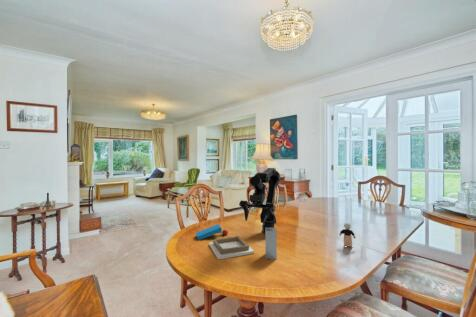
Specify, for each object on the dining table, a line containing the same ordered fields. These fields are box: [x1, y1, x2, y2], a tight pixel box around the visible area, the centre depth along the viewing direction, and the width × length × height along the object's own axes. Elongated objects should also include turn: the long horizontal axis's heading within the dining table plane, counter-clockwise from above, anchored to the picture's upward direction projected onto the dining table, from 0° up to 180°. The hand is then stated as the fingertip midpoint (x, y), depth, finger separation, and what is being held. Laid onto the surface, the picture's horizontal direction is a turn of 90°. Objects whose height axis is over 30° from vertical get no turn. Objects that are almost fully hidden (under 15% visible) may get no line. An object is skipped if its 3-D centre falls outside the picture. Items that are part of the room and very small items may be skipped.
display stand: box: [208, 235, 255, 260], centre depth 115 cm, size 18×18×3 cm
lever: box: [195, 223, 229, 241], centre depth 133 cm, size 7×7×18 cm
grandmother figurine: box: [338, 222, 357, 248], centre depth 117 cm, size 8×4×13 cm, turn 71°
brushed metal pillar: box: [264, 227, 278, 260], centre depth 106 cm, size 5×5×13 cm
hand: (254, 221), depth 115 cm, fingers open, 9 cm apart
